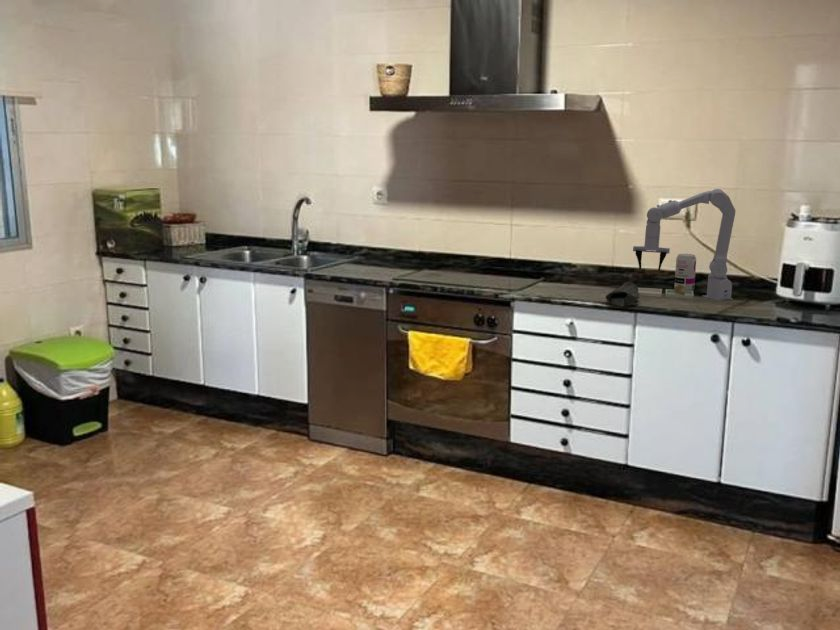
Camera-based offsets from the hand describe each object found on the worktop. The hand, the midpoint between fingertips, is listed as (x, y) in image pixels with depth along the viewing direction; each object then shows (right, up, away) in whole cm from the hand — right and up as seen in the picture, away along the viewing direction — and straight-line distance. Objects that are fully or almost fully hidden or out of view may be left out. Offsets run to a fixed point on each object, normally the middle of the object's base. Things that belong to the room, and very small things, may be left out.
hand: (649, 269), depth 342 cm
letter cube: (+12, -11, -2) cm, 16 cm away
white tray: (0, -10, +2) cm, 11 cm away
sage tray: (+12, -11, -1) cm, 16 cm away
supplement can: (+19, -8, +14) cm, 25 cm away
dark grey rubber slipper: (-13, -14, -10) cm, 21 cm away
